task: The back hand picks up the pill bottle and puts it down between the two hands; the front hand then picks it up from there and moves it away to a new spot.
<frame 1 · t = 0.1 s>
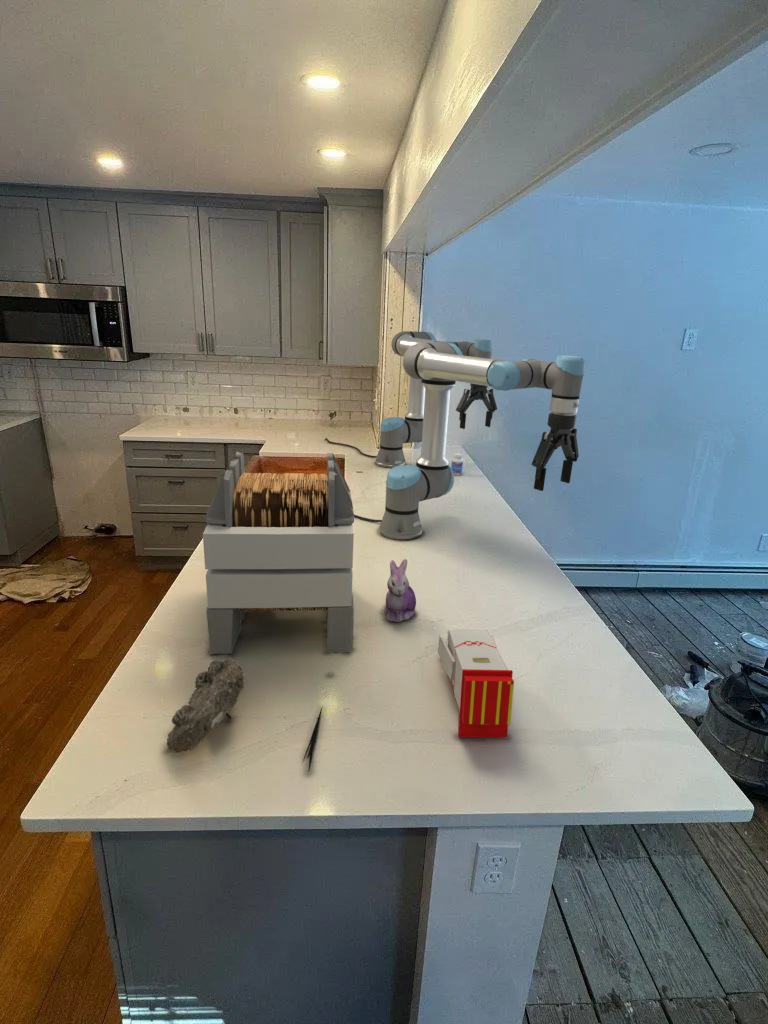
front hand: (552, 485, 166), 28 cm above the counter, tool pointing down, fingers open, 13 cm apart
back hand: (475, 427, 245), 28 cm above the counter, tool pointing down, fingers open, 13 cm apart
toy: (469, 691, 119), on the counter
figurine: (399, 614, 147), on the counter
feather: (319, 719, 109), on the counter
pill bottle: (456, 473, 277), on the counter
fossil: (212, 717, 108), on the counter
record crate stand: (285, 616, 144), on the counter
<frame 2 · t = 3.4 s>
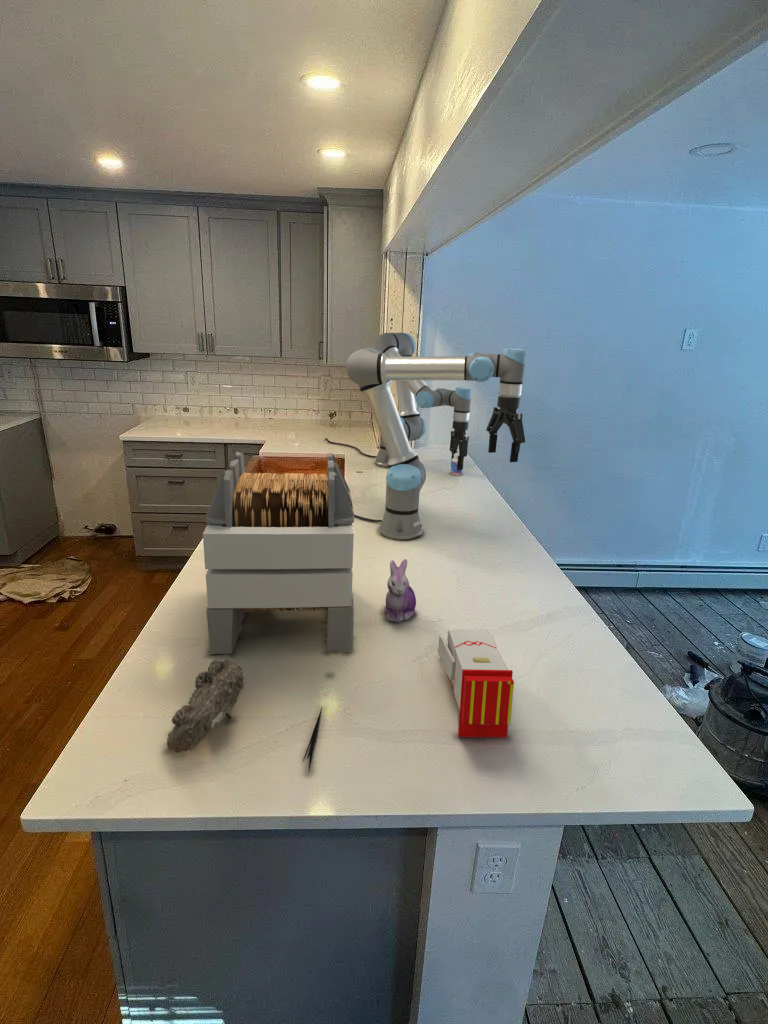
front hand: (502, 457, 199), 27 cm above the counter, tool pointing down, fingers open, 13 cm apart
back hand: (456, 468, 276), 3 cm above the counter, tool pointing down, fingers closed on pill bottle, 5 cm apart
pill bottle: (456, 473, 277), on the counter, touching back hand
everything else where it was.
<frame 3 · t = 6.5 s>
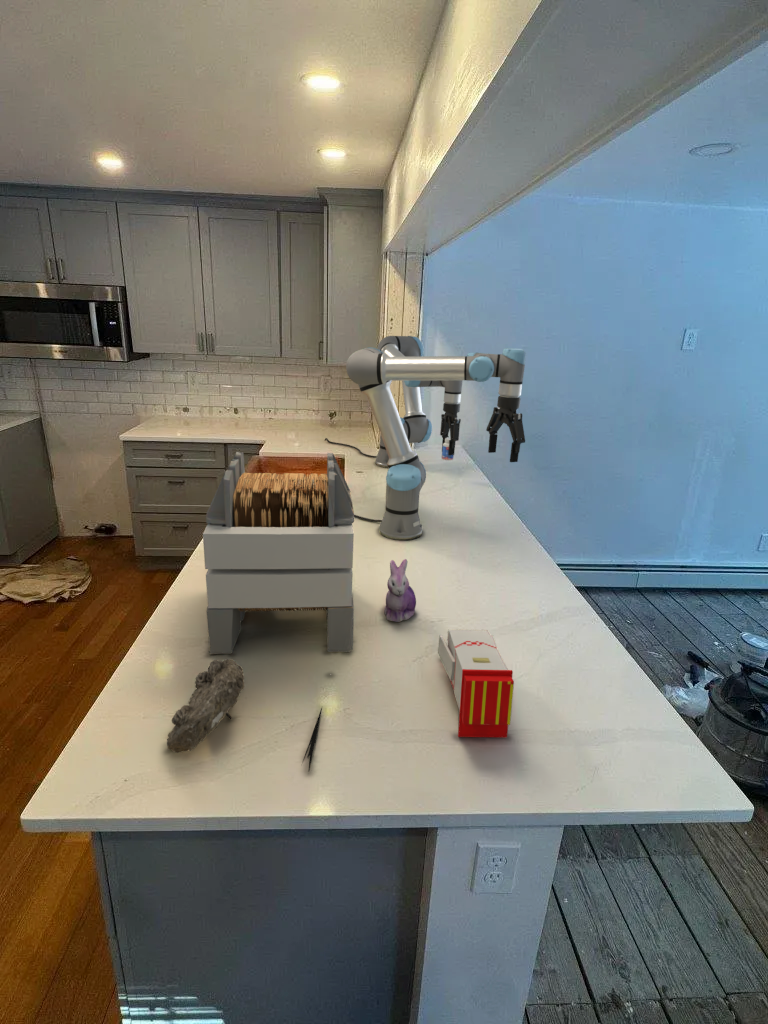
front hand: (502, 457, 199), 27 cm above the counter, tool pointing down, fingers open, 13 cm apart
back hand: (447, 453, 262), 13 cm above the counter, tool pointing down, fingers closed on pill bottle, 5 cm apart
pill bottle: (447, 459, 263), point 10 cm above the counter, touching back hand
everything else where it was.
when the back hand's fingers open (4 cm above the counter, at t = 9.5 s): pill bottle drops 1 cm, on the counter.
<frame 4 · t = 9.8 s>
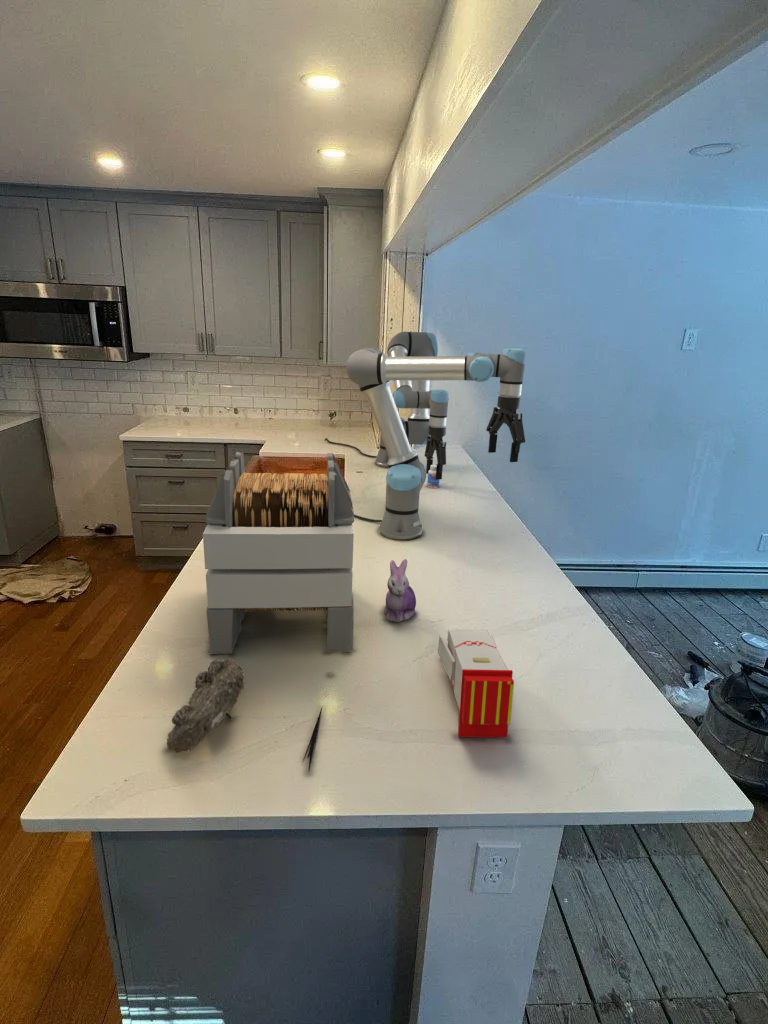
front hand: (502, 457, 199), 27 cm above the counter, tool pointing down, fingers open, 13 cm apart
back hand: (433, 476, 254), 5 cm above the counter, tool pointing down, fingers open, 9 cm apart
pill bottle: (433, 486, 255), on the counter
everything else where it was.
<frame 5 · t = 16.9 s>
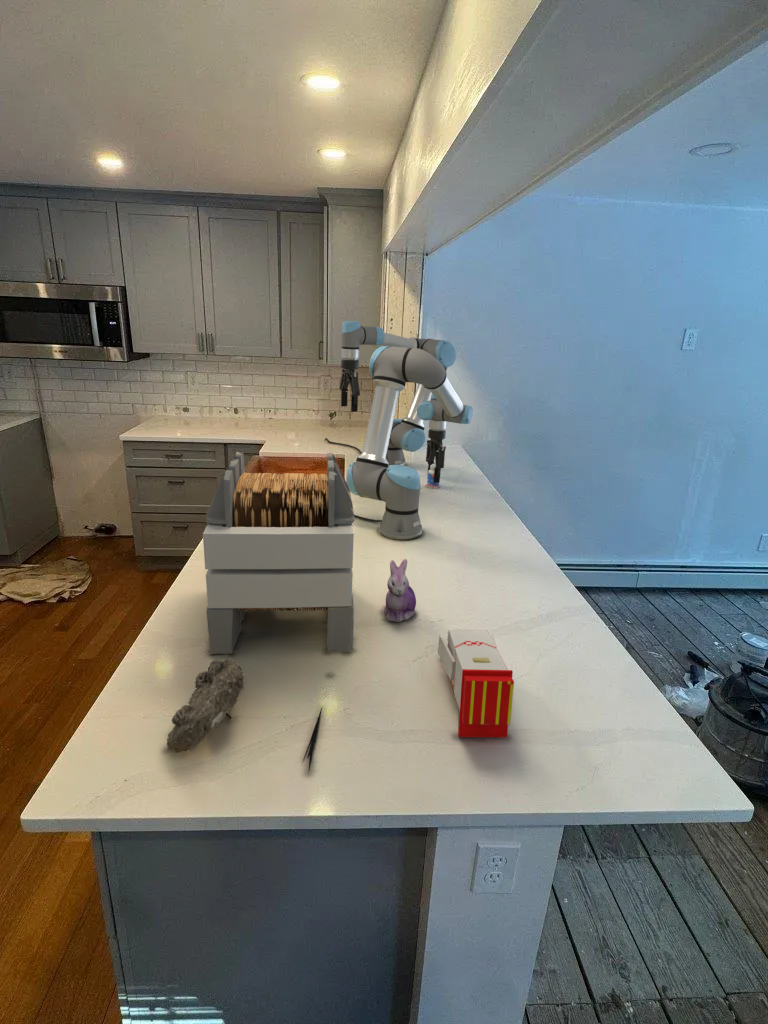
front hand: (433, 480, 254), 3 cm above the counter, tool pointing down, fingers closed on pill bottle, 5 cm apart
back hand: (349, 408, 250), 32 cm above the counter, tool pointing down, fingers open, 13 cm apart
pill bottle: (433, 486, 255), on the counter, touching front hand
everything else where it was.
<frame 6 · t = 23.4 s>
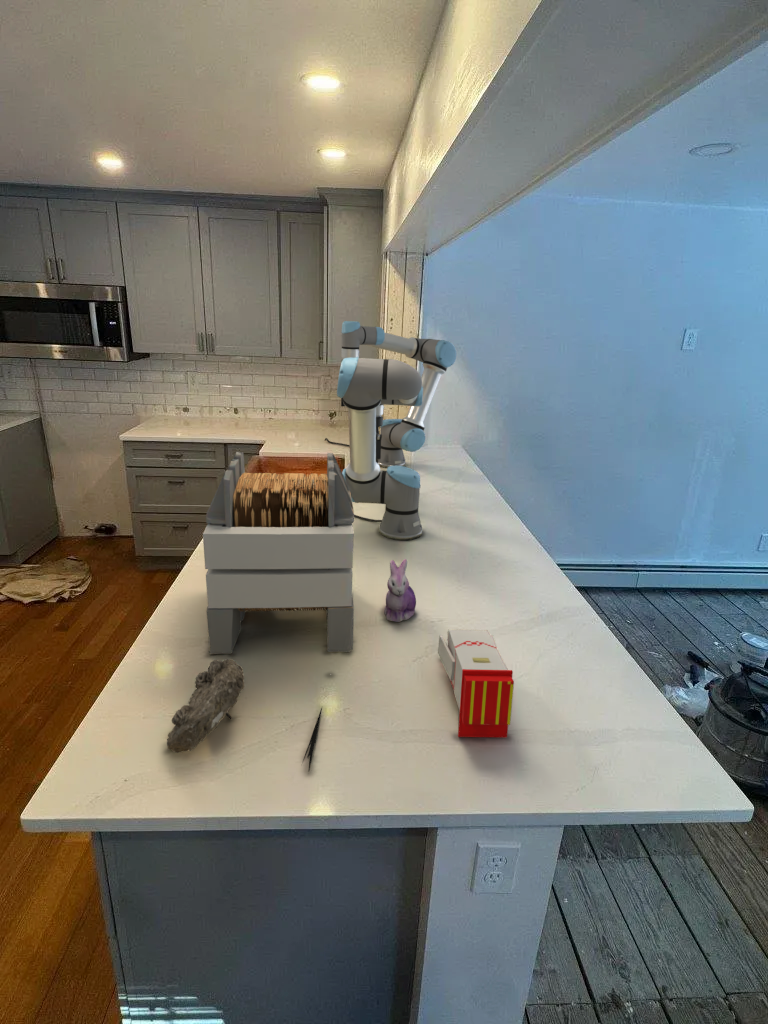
front hand: (371, 473, 226), 12 cm above the counter, tool pointing down, fingers closed on pill bottle, 5 cm apart
back hand: (349, 408, 250), 32 cm above the counter, tool pointing down, fingers open, 13 cm apart
pill bottle: (371, 480, 227), point 10 cm above the counter, touching front hand
everything else where it was.
when the front hand's fingers open (4 cm above the counter, at t = 30.1 s): pill bottle drops 1 cm, on the counter.
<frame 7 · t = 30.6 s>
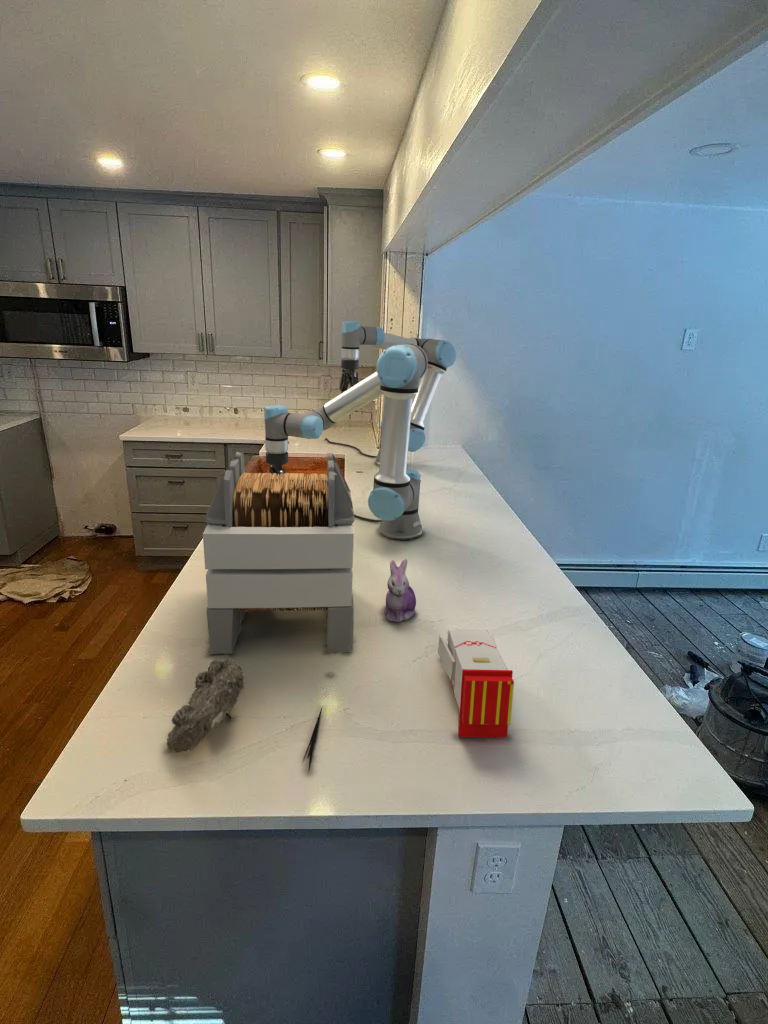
front hand: (278, 510, 200), 6 cm above the counter, tool pointing down, fingers open, 12 cm apart
back hand: (349, 408, 250), 32 cm above the counter, tool pointing down, fingers open, 13 cm apart
pill bottle: (278, 526, 202), on the counter
everything else where it was.
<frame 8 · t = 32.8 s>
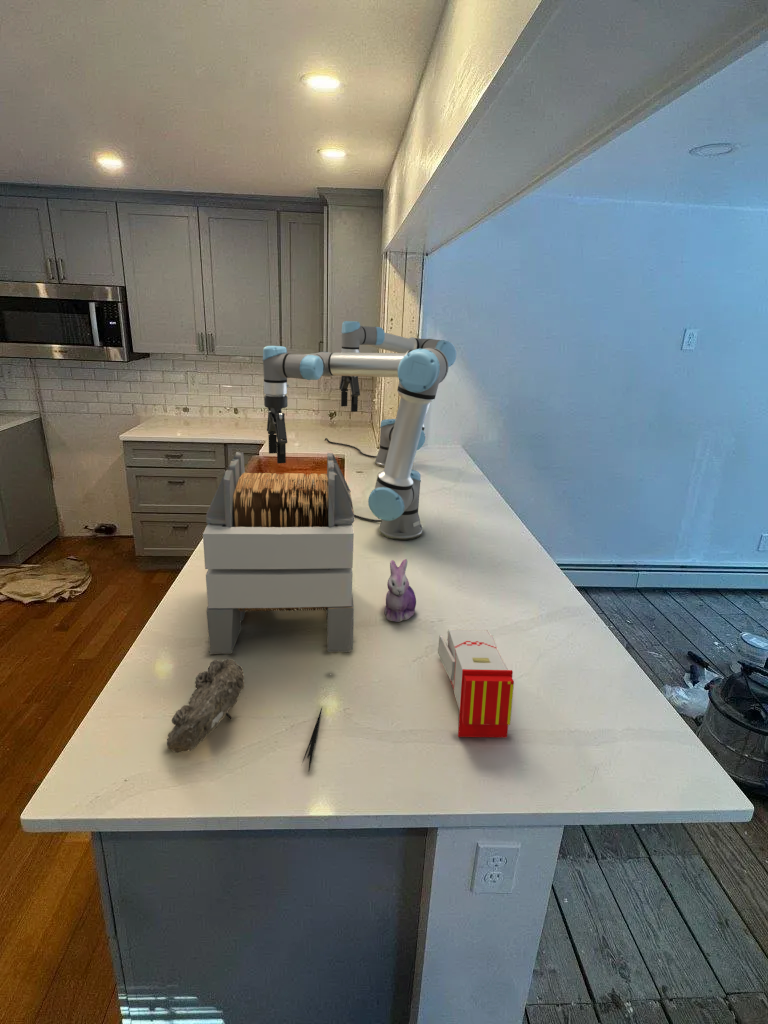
front hand: (277, 458, 193), 25 cm above the counter, tool pointing down, fingers open, 13 cm apart
back hand: (349, 408, 250), 32 cm above the counter, tool pointing down, fingers open, 13 cm apart
nothing on the counter moved.
at the end: pill bottle inside the target area (0.0 cm from its centre), on the counter; pill bottle tilted 0°; the two hands never held the pill bottle at the same time; the front hand is holding nothing; the back hand is holding nothing; pill bottle at rest at the end (0.0 cm/s) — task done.
